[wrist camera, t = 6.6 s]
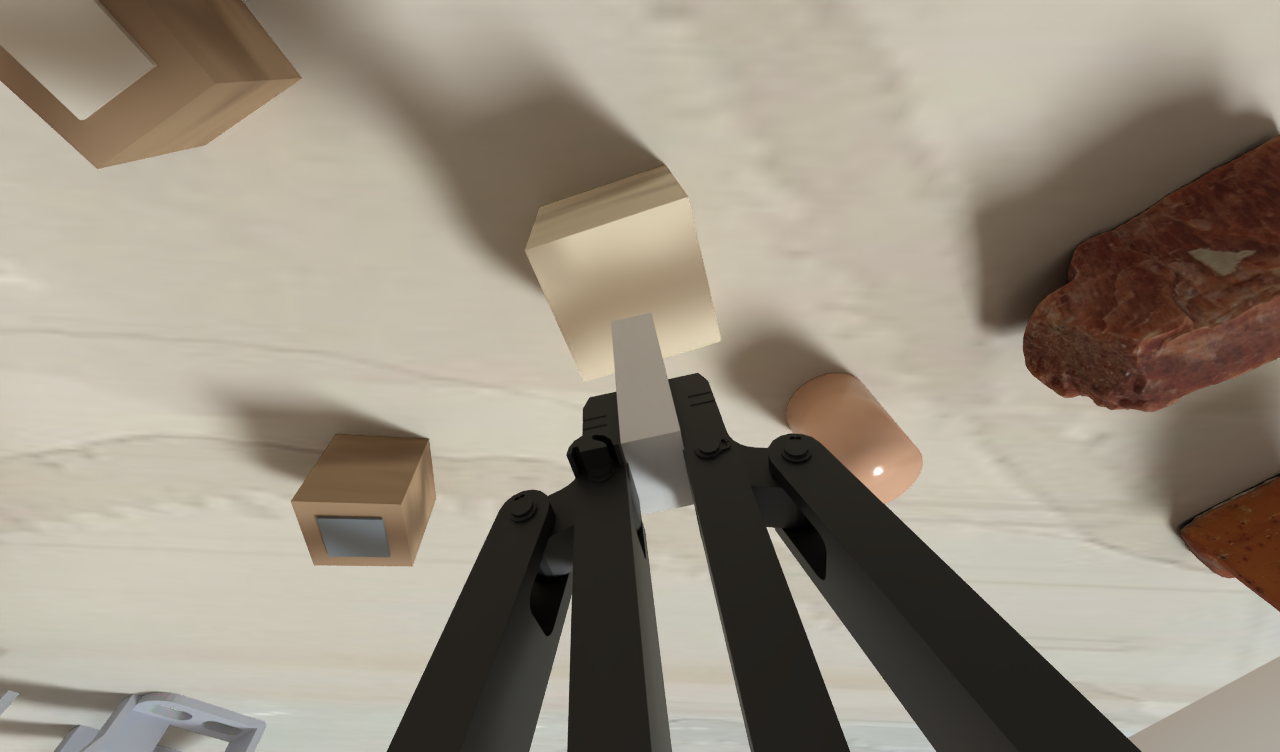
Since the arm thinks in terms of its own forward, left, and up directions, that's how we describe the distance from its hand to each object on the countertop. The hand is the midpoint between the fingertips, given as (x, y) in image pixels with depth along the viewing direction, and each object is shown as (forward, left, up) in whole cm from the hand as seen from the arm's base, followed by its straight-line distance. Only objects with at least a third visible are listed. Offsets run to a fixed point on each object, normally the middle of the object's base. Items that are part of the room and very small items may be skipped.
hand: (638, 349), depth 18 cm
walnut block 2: (+12, -20, -11) cm, 26 cm away
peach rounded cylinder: (+15, +12, -11) cm, 22 cm away
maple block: (0, 0, -11) cm, 11 cm away
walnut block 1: (-13, -16, -11) cm, 24 cm away
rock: (+7, +32, -12) cm, 34 cm away
